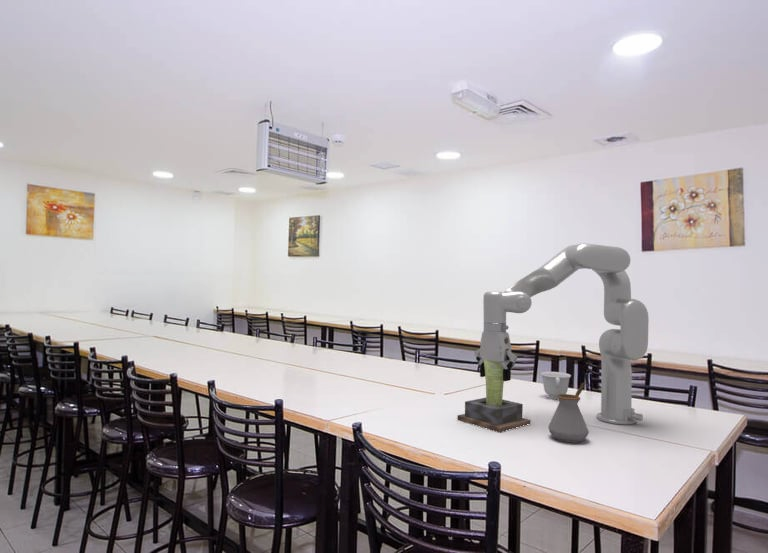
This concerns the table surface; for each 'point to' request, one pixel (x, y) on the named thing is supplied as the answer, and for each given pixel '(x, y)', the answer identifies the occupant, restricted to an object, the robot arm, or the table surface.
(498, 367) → the tube
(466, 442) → the table surface
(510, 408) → the socket board
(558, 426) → the coffee pot
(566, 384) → the teacup
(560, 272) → the robot arm
